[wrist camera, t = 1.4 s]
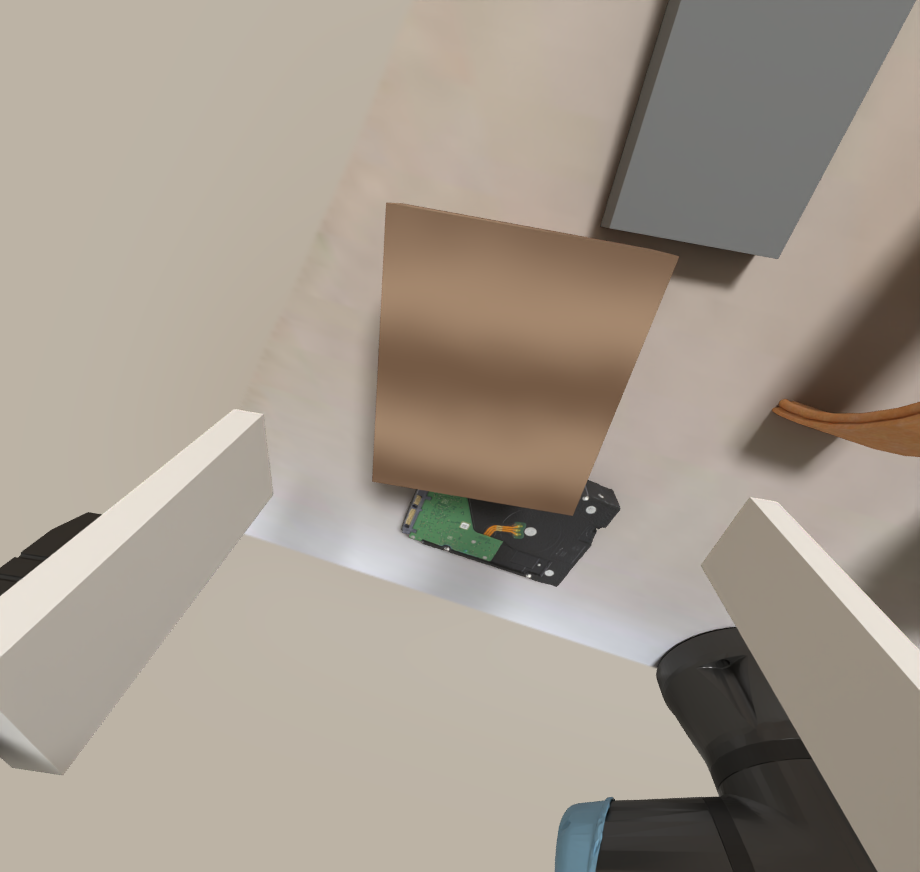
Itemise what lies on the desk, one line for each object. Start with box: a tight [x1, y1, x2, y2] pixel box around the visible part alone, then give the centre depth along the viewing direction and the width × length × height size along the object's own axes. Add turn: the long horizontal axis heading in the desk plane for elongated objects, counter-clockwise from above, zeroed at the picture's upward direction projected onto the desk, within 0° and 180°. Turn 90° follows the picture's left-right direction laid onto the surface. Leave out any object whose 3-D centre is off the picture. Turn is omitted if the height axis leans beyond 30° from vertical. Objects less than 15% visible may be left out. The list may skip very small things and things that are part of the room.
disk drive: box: [401, 480, 620, 587], centre depth 32 cm, size 10×3×15 cm
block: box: [600, 0, 916, 259], centre depth 17 cm, size 16×9×2 cm, turn 171°
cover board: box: [372, 203, 679, 516], centre depth 19 cm, size 13×11×3 cm
